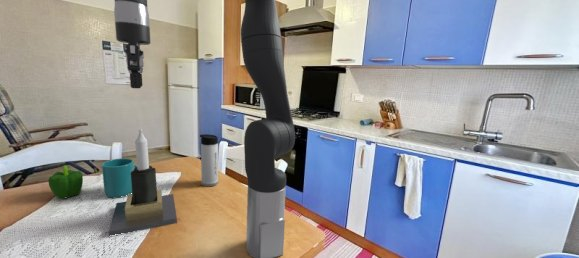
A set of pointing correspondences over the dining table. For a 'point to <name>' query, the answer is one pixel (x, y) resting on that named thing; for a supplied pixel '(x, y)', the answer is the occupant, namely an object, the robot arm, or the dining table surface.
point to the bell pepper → (66, 183)
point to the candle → (143, 174)
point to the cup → (117, 177)
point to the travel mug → (209, 159)
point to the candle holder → (143, 214)
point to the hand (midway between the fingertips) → (137, 87)
